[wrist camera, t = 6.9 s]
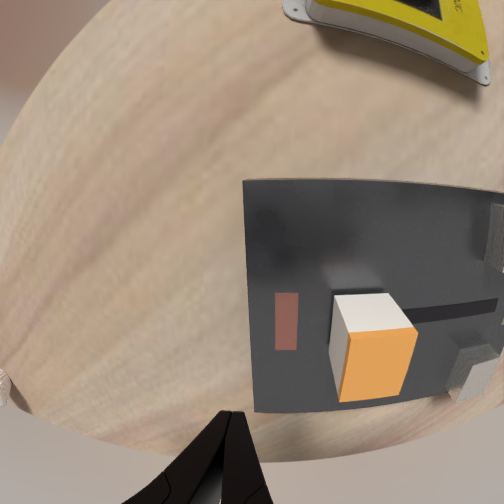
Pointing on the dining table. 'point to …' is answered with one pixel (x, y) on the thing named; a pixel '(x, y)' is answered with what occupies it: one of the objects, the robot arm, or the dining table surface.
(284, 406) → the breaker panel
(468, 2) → the emergency button
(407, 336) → the block
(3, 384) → the white rounded lump
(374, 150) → the dining table surface
